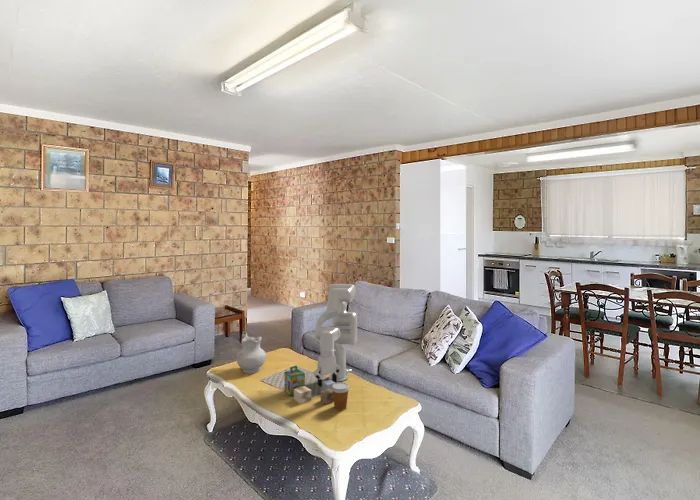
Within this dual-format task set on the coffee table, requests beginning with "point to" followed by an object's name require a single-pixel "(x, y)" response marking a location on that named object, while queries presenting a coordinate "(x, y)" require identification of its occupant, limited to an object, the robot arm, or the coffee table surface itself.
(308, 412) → the coffee table surface
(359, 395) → the coffee table surface
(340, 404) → the disposable coffee cup
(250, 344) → the ceramic pitcher
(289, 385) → the chalk box
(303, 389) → the maple block
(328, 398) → the walnut block
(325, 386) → the slate-blue block
